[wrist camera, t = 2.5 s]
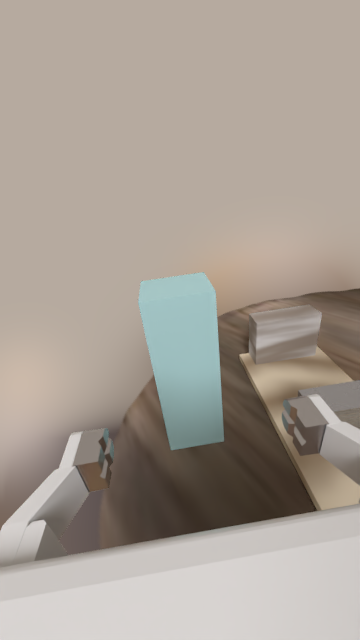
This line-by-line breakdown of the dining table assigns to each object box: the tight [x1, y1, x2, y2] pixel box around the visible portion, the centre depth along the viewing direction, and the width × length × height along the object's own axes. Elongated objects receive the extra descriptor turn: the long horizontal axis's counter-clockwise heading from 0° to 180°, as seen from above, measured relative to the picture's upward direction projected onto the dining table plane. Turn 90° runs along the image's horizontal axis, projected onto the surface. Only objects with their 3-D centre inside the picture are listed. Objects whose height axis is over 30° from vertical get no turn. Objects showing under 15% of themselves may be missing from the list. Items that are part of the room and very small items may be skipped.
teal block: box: [138, 272, 224, 450], centre depth 25 cm, size 5×6×18 cm
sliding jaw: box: [297, 380, 360, 429], centre depth 24 cm, size 3×9×5 cm, turn 96°
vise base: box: [240, 304, 360, 511], centre depth 28 cm, size 22×12×8 cm, turn 6°
